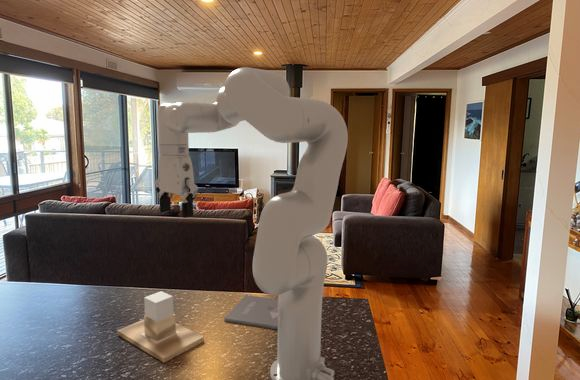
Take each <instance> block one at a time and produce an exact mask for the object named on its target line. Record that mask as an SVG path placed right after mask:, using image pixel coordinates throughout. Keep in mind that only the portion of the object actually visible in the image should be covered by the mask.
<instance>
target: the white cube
mask: <svg viewBox="0 0 580 380" xmlns="http://www.w3.org/2000/svg"><path fill="white" fill-rule="evenodd" d="M143 299H144V301H143V303H144V316H146V317H148V318H150V319H152V320H154V321H156V322H158V321H160V320H162V319H165V318H167V317H169V316H172V315H174V314H175V311H174V296H173V295H171V294H170V293H167V292H164V291H162V290H160V291H158V292H155V293H152V294H150V295H147V296H144V297H143Z"/></svg>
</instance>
